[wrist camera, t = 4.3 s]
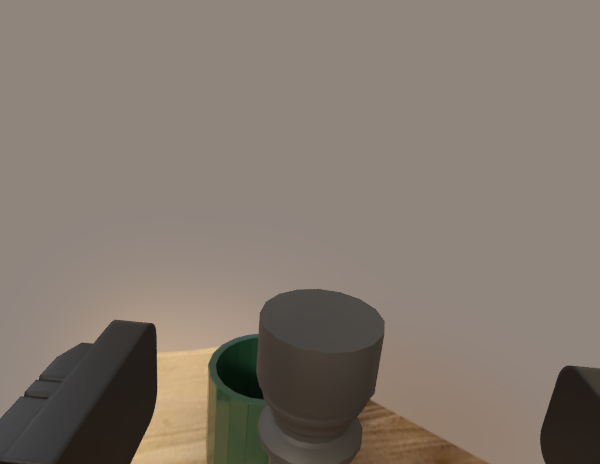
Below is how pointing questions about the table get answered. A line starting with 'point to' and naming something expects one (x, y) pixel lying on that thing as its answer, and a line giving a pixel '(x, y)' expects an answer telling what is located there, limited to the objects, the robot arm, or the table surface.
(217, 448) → the pot
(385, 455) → the table surface
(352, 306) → the candle holder
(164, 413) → the table surface
